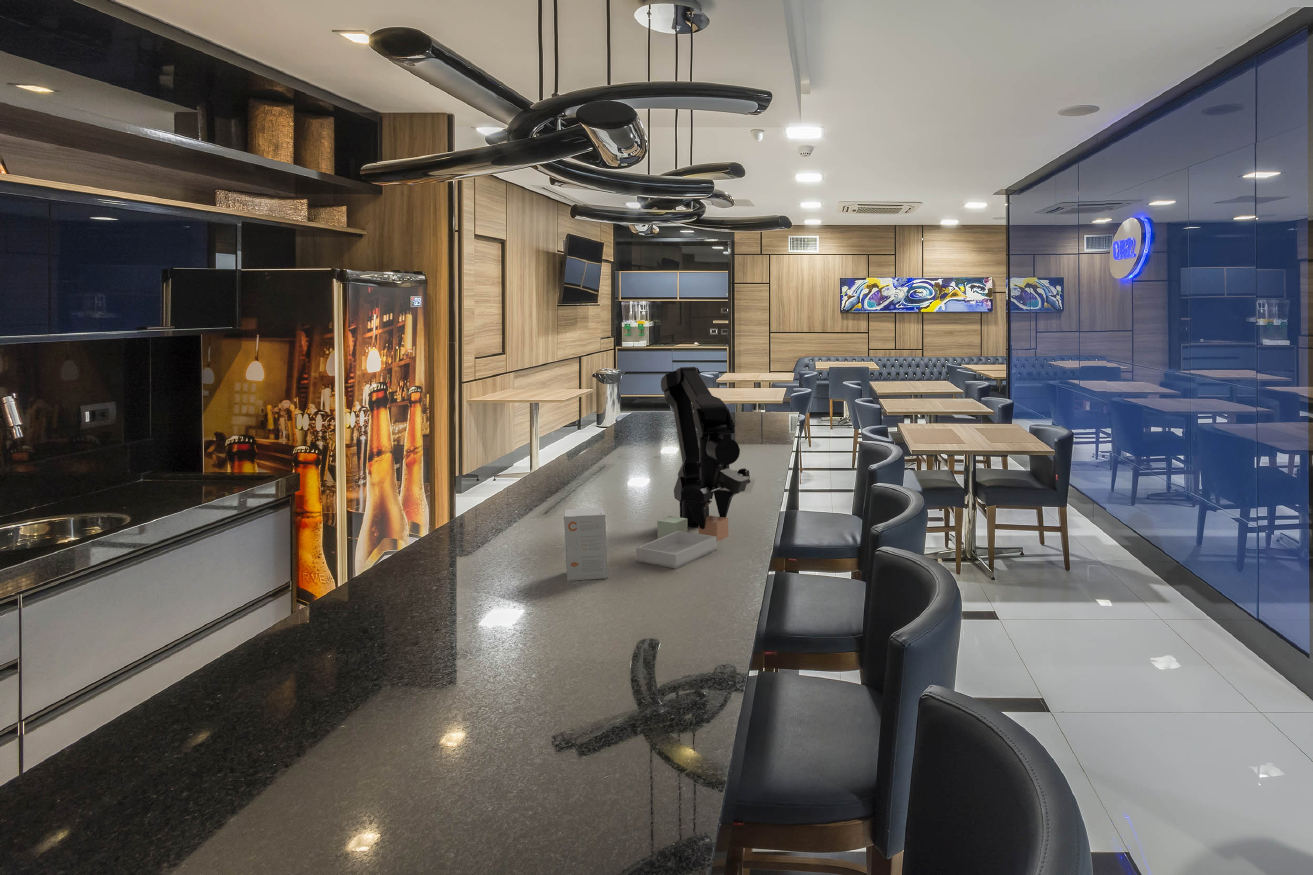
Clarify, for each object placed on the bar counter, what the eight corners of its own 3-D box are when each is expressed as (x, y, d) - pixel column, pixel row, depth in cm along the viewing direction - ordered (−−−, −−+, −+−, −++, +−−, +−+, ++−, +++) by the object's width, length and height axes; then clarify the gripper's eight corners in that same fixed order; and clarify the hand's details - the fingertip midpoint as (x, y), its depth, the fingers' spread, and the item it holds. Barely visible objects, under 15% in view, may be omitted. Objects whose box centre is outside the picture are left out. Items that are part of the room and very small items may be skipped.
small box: (606, 569, 166) (604, 506, 164) (608, 579, 160) (605, 514, 158) (566, 571, 166) (564, 508, 164) (566, 581, 159) (563, 516, 157)
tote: (636, 561, 171) (636, 547, 171) (678, 543, 184) (678, 530, 184) (676, 568, 165) (675, 554, 165) (716, 549, 178) (716, 536, 178)
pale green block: (657, 539, 189) (657, 520, 188) (669, 534, 193) (669, 516, 192) (675, 542, 186) (675, 523, 185) (687, 537, 190) (687, 518, 189)
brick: (698, 539, 188) (698, 519, 188) (709, 534, 192) (709, 515, 192) (717, 541, 185) (717, 522, 185) (728, 536, 189) (728, 517, 189)
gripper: (721, 467, 174) (722, 538, 176) (762, 454, 189) (763, 520, 191) (678, 463, 180) (679, 531, 183) (721, 450, 196) (721, 514, 198)
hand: (712, 524), depth 188 cm, fingers open, 9 cm apart
